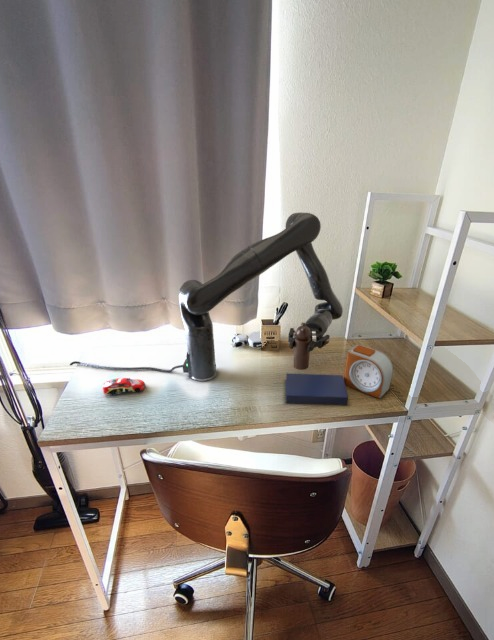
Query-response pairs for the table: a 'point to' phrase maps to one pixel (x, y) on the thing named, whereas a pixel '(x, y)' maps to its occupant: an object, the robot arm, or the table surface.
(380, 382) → the alarm clock
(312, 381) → the book
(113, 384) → the race car
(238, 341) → the robot toy
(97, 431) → the table surface
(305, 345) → the pepper mill
